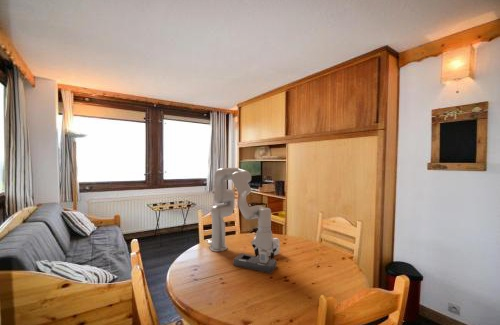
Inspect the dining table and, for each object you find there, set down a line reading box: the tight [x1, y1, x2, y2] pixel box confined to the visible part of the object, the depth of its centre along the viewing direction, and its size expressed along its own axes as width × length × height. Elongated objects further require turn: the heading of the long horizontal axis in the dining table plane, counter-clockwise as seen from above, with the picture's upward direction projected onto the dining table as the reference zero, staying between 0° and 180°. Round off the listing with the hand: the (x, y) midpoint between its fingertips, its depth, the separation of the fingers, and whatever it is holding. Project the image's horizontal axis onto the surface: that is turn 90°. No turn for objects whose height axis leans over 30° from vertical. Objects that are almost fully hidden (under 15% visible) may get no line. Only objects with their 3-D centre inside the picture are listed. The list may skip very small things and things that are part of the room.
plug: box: [259, 249, 270, 264], centre depth 138 cm, size 4×5×11 cm
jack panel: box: [233, 252, 277, 274], centre depth 140 cm, size 24×10×4 cm, turn 65°
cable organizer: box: [253, 235, 281, 257], centre depth 159 cm, size 15×11×12 cm
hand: (264, 257), depth 138 cm, fingers open, 9 cm apart
